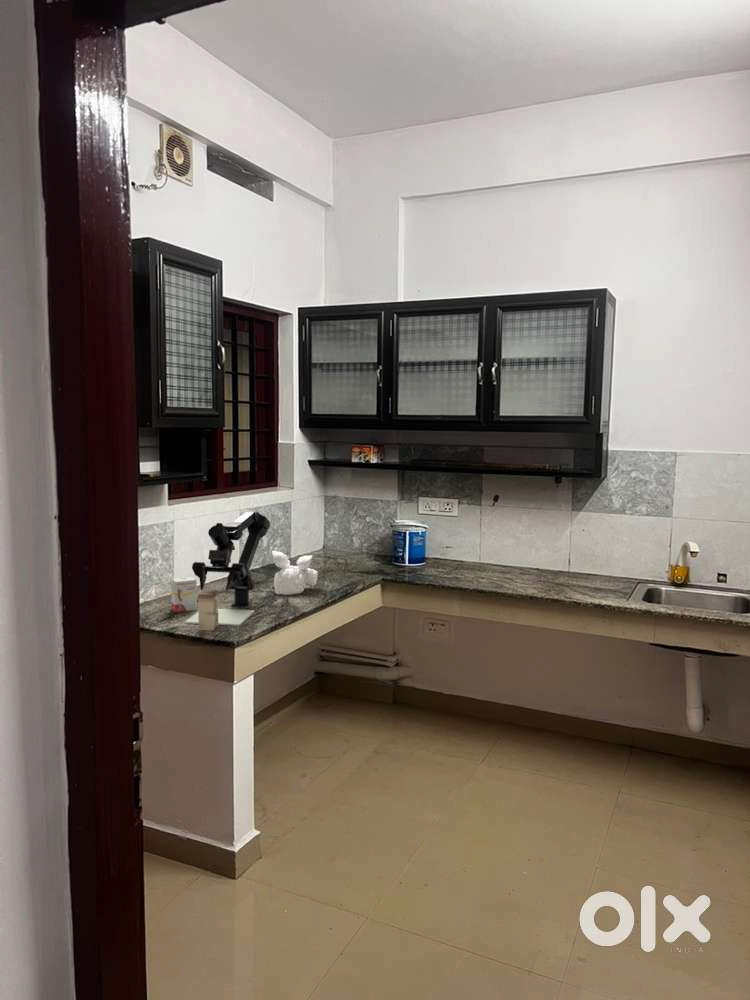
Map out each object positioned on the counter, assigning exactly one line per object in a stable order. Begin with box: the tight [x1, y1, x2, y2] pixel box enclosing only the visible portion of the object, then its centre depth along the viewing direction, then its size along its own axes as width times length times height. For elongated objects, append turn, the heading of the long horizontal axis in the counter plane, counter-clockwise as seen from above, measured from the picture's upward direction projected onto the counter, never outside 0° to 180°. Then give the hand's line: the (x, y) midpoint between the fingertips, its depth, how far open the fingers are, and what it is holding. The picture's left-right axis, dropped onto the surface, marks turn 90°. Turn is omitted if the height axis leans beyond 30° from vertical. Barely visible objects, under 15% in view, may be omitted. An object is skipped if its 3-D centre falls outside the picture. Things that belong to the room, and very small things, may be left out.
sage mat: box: [184, 608, 255, 627], centre depth 270 cm, size 19×20×1 cm
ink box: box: [171, 576, 198, 613], centre depth 279 cm, size 9×5×12 cm, turn 120°
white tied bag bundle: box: [271, 550, 319, 596], centre depth 312 cm, size 19×20×20 cm
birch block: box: [197, 589, 219, 631], centre depth 256 cm, size 6×5×12 cm
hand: (213, 589), depth 261 cm, fingers open, 9 cm apart
